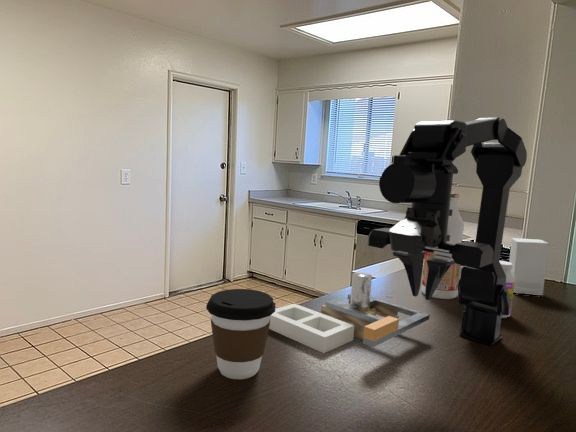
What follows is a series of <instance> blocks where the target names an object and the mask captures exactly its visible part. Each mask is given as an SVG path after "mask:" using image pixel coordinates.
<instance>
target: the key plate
mask: <svg viewBox="0 0 576 432" xmlns="http://www.w3.org/2000/svg"><path fill="white" fill-rule="evenodd" d="M347 300H348V301H349V300H351V293H350V294H347ZM324 305H325V306H326V307H329V308H331V309H334V310H337V311H340V312H343V313H346V314H349V315H352V316H354V317H357V318H360V319H363V320H366V321H369V322H372V323H371V324H369V325H366V326H364V336H363V340H362V344H364V345H366V346H369V347H371V348H374V347H377V346H378V345H381V344H383V343H385V342H387V341H388V340H391V339H393V338H395V337H397V336H398V335H401V334H402V333H405V332H407V331H409V330H412V329H413V328H415V327H417V326H419V325H420V324H422V323H425V322H427V321H429V320H430V313H429V314H428V313H427V312H423V311H420V310H415V309H413V308H409V307H405V306H403V305H399V304H396V303H392V302H389V301H387V300H386V301H385V300H382V299H378V298H376V297H372V296H370V305H369V306H372V305H378V306H381V307H384V308H387V309H391V310H394V311H397V312H398V313H401V314H403V315H406V316H408V317H406V318H403V319H402V320H400V319H399V318H398V319H397V318H394V317H391V316H388V317H385V318H383V319H382V318H379V317H376V316H373V315H370V314H367V313H364V312H362V311H359V310H357V306H354V305H351V304H348V302H344V301H341V300H338V299H335V298H334V299H333V298H332V299H330V300H326V301H325V304H324Z"/></svg>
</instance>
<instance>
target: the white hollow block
mask: <svg viewBox="0 0 576 432" xmlns="http://www.w3.org/2000/svg"><path fill="white" fill-rule="evenodd" d="M319 312H320V311H319ZM319 312H318V311H316V310H313V309H310V308H308V307H305V306H302V305H299V304H297V303H291V304H287V305H284V306H281V307H277V308H275V312H274V313H273V314H272V315H271V316H270V326H269V330H270V331H273V332H276V333H278V334H280V335H282V336H284V337H287V338H289V339H291V340H292V341H293V340H294V341H295V342H298V343H300V344H302V345H305V346H306V347H308V348H310V349H313V350H315V351H318V352H320V353H322V354H325V353H328V352H330V351H332V350H334V349H337V348H339V347H341V346H344V345H346V344H349V343H350V342H352V341H354V337H353V336H354V325H352V324H349V323H346V322H344V321H341V320H338V319H335V318H333V317H330V316H327V315H324V314H322V313H319Z"/></svg>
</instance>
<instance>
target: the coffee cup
mask: <svg viewBox="0 0 576 432" xmlns="http://www.w3.org/2000/svg"><path fill="white" fill-rule="evenodd" d="M205 307H206V308H205V309H206V311H207V312H208V313H209V314H210V315H211V316H210V317H211V319H210V326H211V333H212V340H213V341H212V342H213V348H214V349H213V350H214V353H215V355H216V356H215V357H216V364H217V368H218V370H219V372H220V374H221V375H222V376H223V377H225V378H228V379H230V380H231V379H232V380H245V379H249V378H251V377H254V376H255V375H256V374H257V373H258V372H259V369H260V368H261V362H262V358H263V355H264V354H265V349H266V345H267V340H268V334H269V331H270V329H269V326H270V316H271V315H272V314H273V313H274V312H275V309H276V302H274V298H273V297H272V296H271V295H270V294H268V293H266V292H263V291H261V290H255V289H251V288H250V289H247V288H232V289H231V288H230V289H225V290H220V291H217V292H215V293H213V294H211V295H210V298H209V299H208V301H207V302H206V306H205Z"/></svg>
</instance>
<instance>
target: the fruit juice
mask: <svg viewBox="0 0 576 432" xmlns="http://www.w3.org/2000/svg"><path fill="white" fill-rule="evenodd" d="M459 198H460V195H459V193H457V192H451V199H450V209H453V211H452V216H449V219H448V229H447V234H448V235H450V240H449V241H447V242H446V243H449V244H457V243H461V242H463V241H462V236H463V233H464V229H465V223H464V220H463V219H462V217H461V214H460V210H459V205H458V200H459ZM437 248H438V247H437ZM424 252H425V254H424V262H423V269H422V277H421V292H422V293H423V295H425V290H426V284H427V277H428V271H429V268H428V264H427V260H429V259H433V258H434V253H433V252H428V251H424ZM461 266H462V265H460V264H453V265H451V266H450V268H449V269H448V270H447V272H446V273H445V274H444V276H443V278H442V279H441V281H440V283H439V284H438V286H437V288H436V290H435V292H434V293H433V295H432V297H431V298H434V299H440V300H452V299H453V300H454V299H455V298H456V299H457V297H458V283H459V280H460V277H461Z"/></svg>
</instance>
